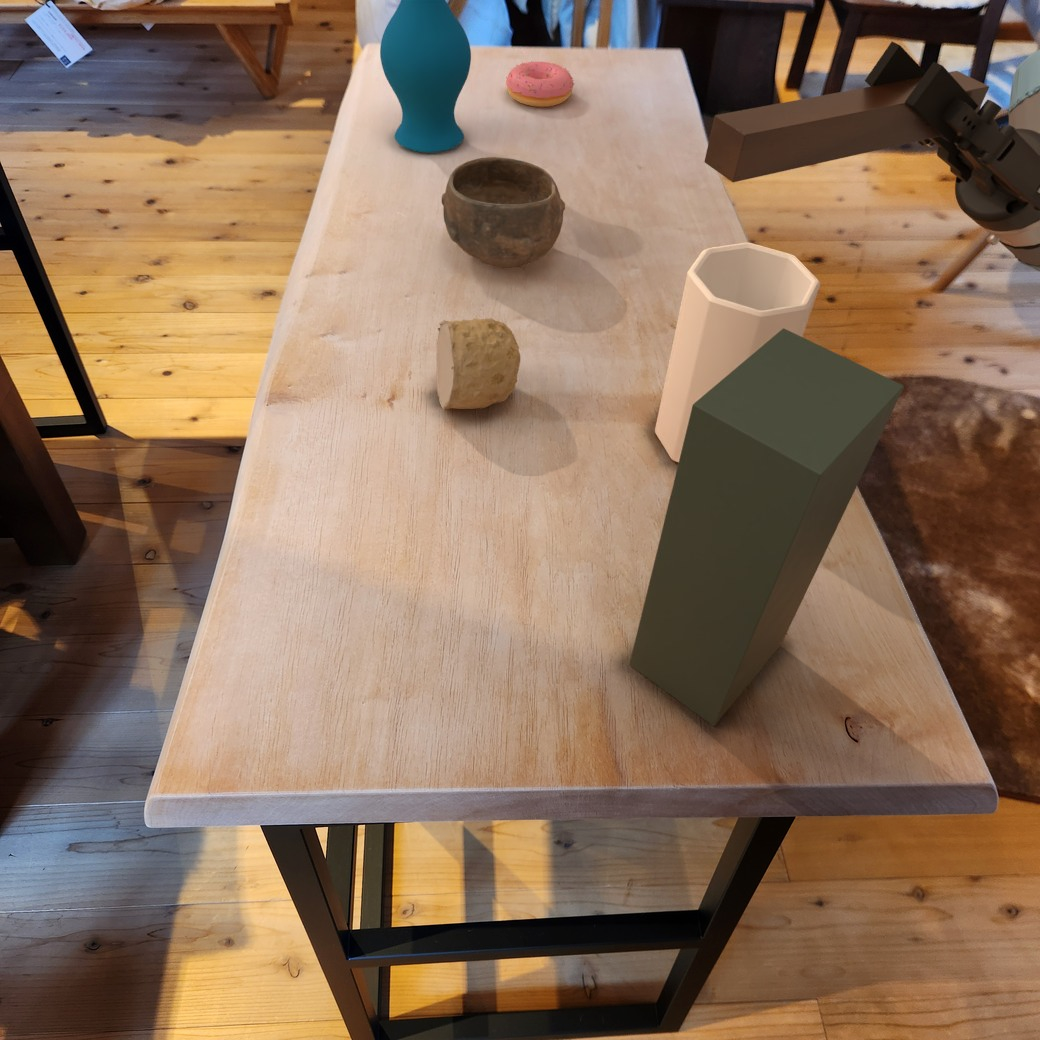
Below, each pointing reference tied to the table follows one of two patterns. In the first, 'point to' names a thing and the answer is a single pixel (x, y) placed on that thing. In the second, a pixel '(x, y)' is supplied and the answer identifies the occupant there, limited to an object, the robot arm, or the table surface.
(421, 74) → the vase
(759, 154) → the rod
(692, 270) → the cup
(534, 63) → the doughnut
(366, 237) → the table surface
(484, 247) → the bowl
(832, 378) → the stand
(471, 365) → the cut tuber
